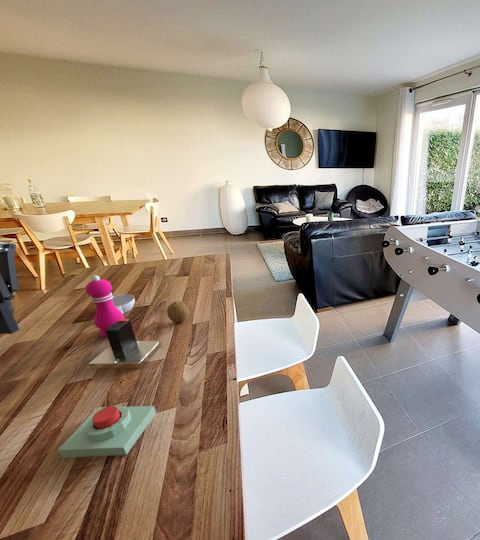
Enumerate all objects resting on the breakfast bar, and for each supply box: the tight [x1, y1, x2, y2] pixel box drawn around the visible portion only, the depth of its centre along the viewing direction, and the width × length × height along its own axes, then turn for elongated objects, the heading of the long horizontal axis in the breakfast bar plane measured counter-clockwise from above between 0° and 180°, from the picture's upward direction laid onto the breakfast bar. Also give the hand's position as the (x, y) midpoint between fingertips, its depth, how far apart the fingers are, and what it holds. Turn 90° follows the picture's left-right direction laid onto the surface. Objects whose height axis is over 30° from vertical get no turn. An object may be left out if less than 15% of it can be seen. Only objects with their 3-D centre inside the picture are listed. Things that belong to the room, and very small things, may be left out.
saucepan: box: [112, 294, 136, 315], centre depth 104 cm, size 11×18×4 cm, turn 45°
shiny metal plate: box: [88, 340, 162, 370], centre depth 82 cm, size 13×10×2 cm
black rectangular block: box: [105, 318, 138, 358], centre depth 80 cm, size 6×3×9 cm, turn 4°
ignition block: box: [57, 405, 157, 458], centre depth 60 cm, size 12×10×4 cm
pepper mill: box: [85, 275, 125, 338], centre depth 90 cm, size 7×7×20 cm
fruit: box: [166, 300, 189, 323], centre depth 99 cm, size 6×6×8 cm
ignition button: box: [92, 405, 120, 429], centre depth 59 cm, size 4×4×2 cm
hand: (8, 331), depth 57 cm, fingers closed
